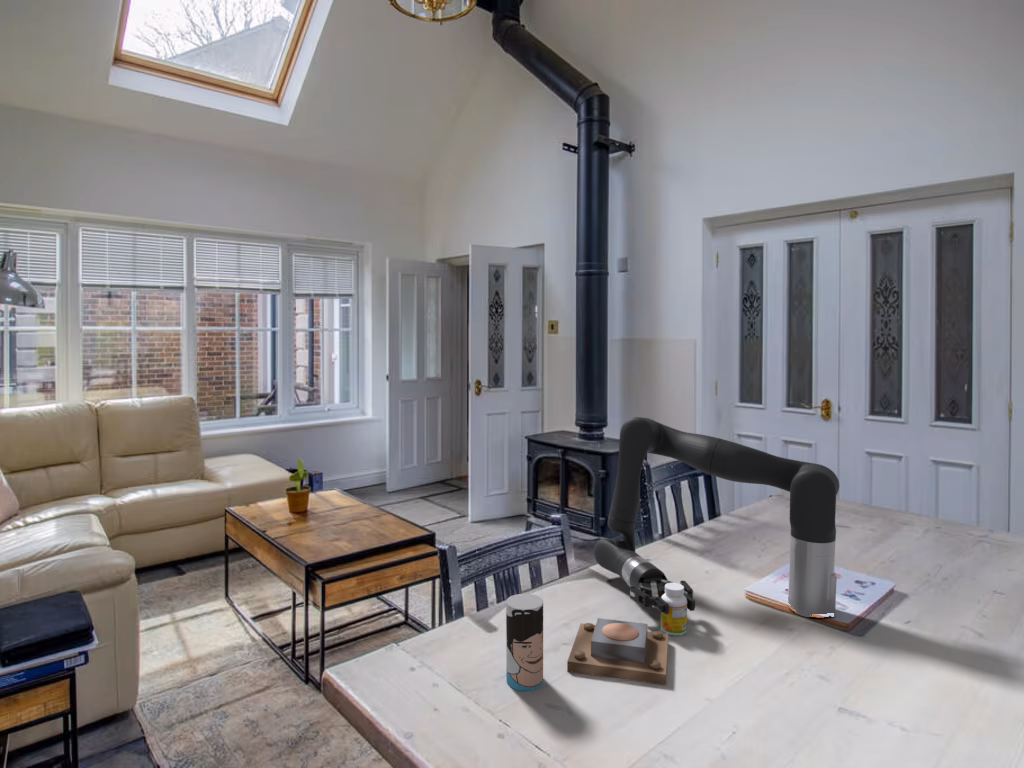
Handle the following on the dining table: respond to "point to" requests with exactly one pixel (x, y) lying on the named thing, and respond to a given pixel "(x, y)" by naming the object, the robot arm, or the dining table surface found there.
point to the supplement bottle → (674, 610)
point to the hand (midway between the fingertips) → (680, 607)
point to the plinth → (620, 666)
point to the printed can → (524, 642)
